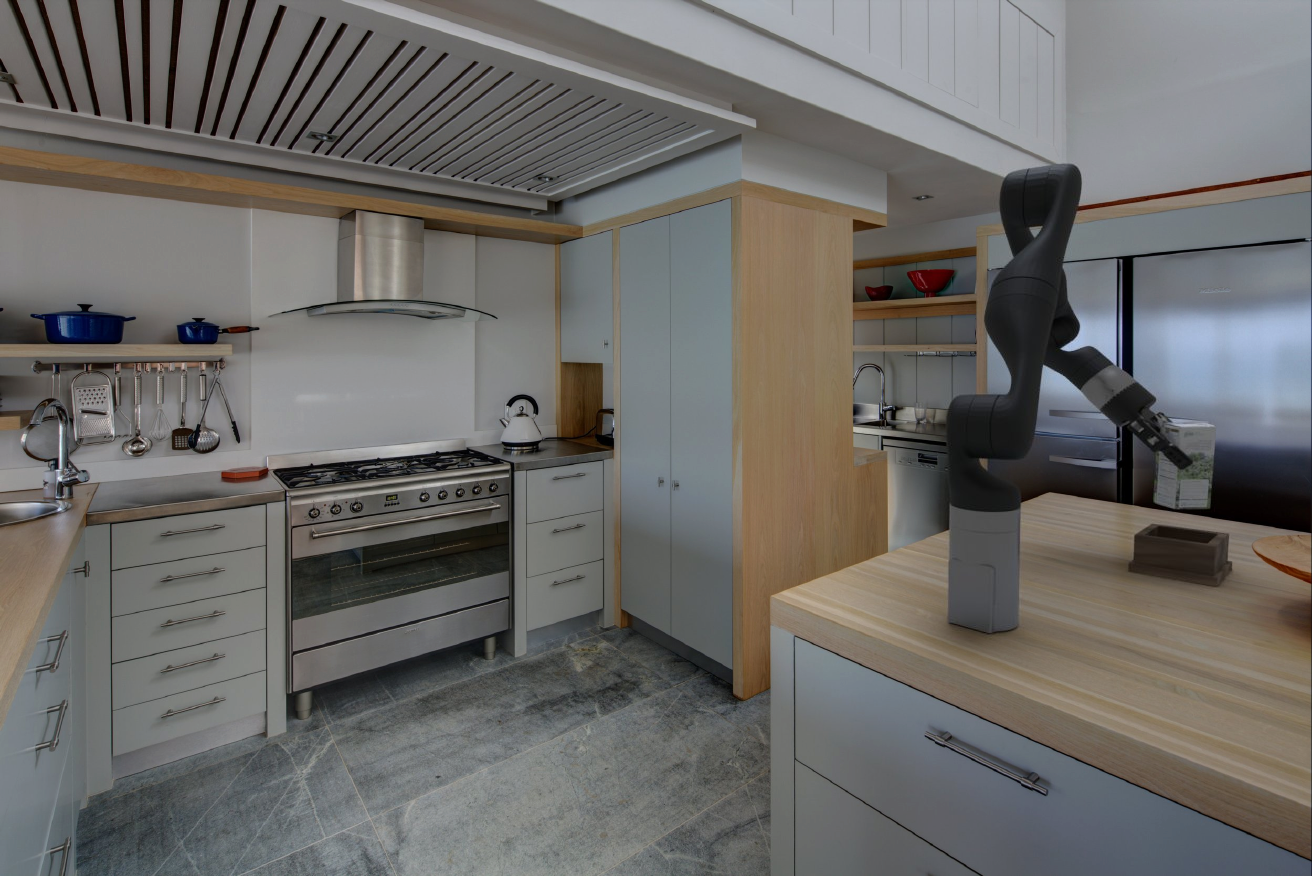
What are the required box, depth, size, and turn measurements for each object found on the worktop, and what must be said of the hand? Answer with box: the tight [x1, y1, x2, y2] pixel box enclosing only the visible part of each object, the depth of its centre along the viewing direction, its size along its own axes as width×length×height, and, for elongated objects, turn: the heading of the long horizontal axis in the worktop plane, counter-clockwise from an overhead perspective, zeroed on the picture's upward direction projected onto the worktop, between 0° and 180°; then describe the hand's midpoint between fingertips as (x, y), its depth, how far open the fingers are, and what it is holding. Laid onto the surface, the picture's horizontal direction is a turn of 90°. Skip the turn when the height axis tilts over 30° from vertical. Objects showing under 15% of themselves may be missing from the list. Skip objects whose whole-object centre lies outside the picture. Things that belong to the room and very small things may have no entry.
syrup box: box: [1153, 421, 1217, 510], centre depth 112 cm, size 6×6×14 cm
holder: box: [1127, 523, 1233, 588], centre depth 113 cm, size 12×12×6 cm
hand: (1194, 463), depth 111 cm, fingers closed on syrup box, 8 cm apart
